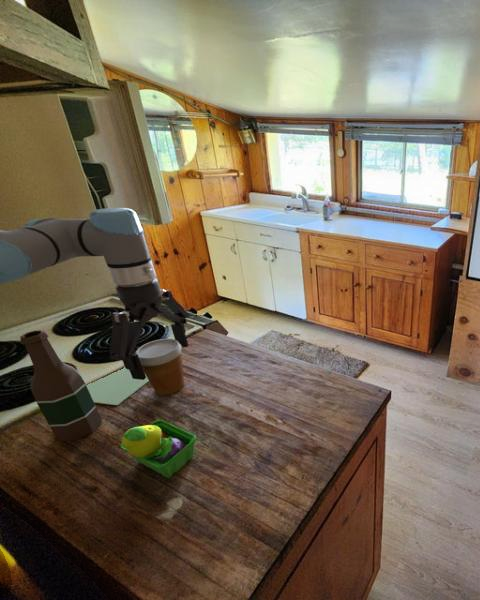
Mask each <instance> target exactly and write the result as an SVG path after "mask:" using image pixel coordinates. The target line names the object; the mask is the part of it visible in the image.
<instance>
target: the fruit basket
mask: <svg viewBox="0 0 480 600" xmlns="http://www.w3.org/2000/svg"><path fill="white" fill-rule="evenodd" d="M196 439H197V436H196V434H192V433H191V432H189V431H186V430H184V429H182V428H180V427H178V426H176V425H174V424H171V423H170V422H168V421H165V420H163V419H157V420H155V421H153V422H152V423H150V424H147V425H146V424H145V425H141V426H140V425H139V426H134V427H132V428H129V429H128V430H126V432H125V433H123V435H122V438H121V445H120V448H121V449H123V450H124V451H125V452H127V453H128V454H129V455H130V456H131V457H132V458H133V459H134V460H135V461H137V462H138V463H139V464H141V465H142V464H143V465H144V466H145V467H147V468H148V469H152V470H153V471H155V472H156V473H158V474H161V475H162V476H163V477H166V478H167V479H169V478H171V477H172V476H173V475H174V474H175V473H176V472H178V471H179V470H180V469H182V468H183V466H185V465H186V464H187V463H188V462H189V461H191V460H192V459H193V458H194V450H195V443H196V441H197V440H196Z"/></svg>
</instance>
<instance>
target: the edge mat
mask: <svg viewBox="0 0 480 600" xmlns="http://www.w3.org/2000/svg"><path fill="white" fill-rule="evenodd" d="M145 376H146V374H145ZM148 383H150V381H149V380H148V378H147V376H146V378H145V379H144V380H140V379H133V378H132V375H131V373H130V370H127V369H126V368H125V367H124V368H123V369H121V370H118V371H117V372H114V373H112V374H110V375H108V376H106V377H104V378H101V379H99V380H97V381H95V382H93V383H90V384H88V383H87V384H88V385H86V386H87V388H88V391H89V393H90V395H91V397H92V399H93V401H94V404H100V405H101V404H102V405H110V406H115V407H116V406H117V407H118V406H119V405H120V404H122V403H123V402H124V401H125V400H127V399H128V398H130V397H131V396H132V395H133V394H135V393H136V392H138V391H139V390H140V389H141V388H143V387H144V386H145V385H146V384H148Z"/></svg>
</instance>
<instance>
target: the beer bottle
mask: <svg viewBox="0 0 480 600" xmlns="http://www.w3.org/2000/svg"><path fill="white" fill-rule="evenodd" d="M48 338H49V334H48V333H47V332H46V331H45V330H41V329H40V330H33V331H29V332H25V333H24V334H22V335H21V336H19V341H20V344H21V345H24V346H25V349H26V351H27V354H28V357H29V358H30V361H31V363H32V366H33V370H34V373H33V374H32V377H31V379H30V390H31V393H32V395H33V398H34V400H35V403H36V404H37V406H38V408H39V410H40V411H41V414H42V415H43V418H44V419H45V420H46V422H47V425H48V426H49V428H50V429H51V430H50V431H52V433H53V435H54V436H55V438H56V439H57V441H58V442H72V441H73V442H74V441H75V442H76V441H77V440H80V439H81V438H83V437H86V436H89V435H90V434H93V433H94V432H95V431H96V429H97V428H99V426H100V425H101V424H102V423H103V420H102V418H101V415H100V413H99V410H98V407H97V406H96V403H94V401H93V399H92V397H91V395H90V393H89V391H88V388H87V386H86V384H87V383H86V382H85V381H84V379H83V377H82V375H81V373H80V372H79V370H77V369H76V367H74V366H73V365H70V364H68V363H65V362H63V361H62V359H61V358H60V357H59V356H58V354H57V352H56V350H55V349H54V347H53V346H52V344H51V342H50V340H49V339H48Z"/></svg>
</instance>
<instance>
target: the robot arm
mask: <svg viewBox="0 0 480 600" xmlns="http://www.w3.org/2000/svg"><path fill="white" fill-rule="evenodd" d="M88 217H89V218H88V219H86V218H84V219H83V218H82V219H81V218H79V219H78V218H55V217H47V218H37V219H36V218H35V219H31V220H29V221H27V222H26V223H25V225H23V226H22V227H19V228H16V229H11V230H3V229H2V230H1V229H0V286H2V285H4V284H7V283H13V282H16V281H19V280H22V279H23V278H26V277H27V276H29V275H32V274H35V273H37V272H39V271H43V270H44V269H47V268H51V267H53V266H56V265H58V264H61V263H63V262H66V261H69V260H71V259H74V258H79V257H103V258H104V261H105V263H106V266H107V269H108V272H109V275H110V277H111V280H112V284H114V285H115V291H116V294H117V296H118V299H119V301H120V302H121V303H122V304H123V306H124V310H123V311H121V312H112V313H111V315H110V318H111V321H112V328H111V337H110V349H109V359H110V360H118V361H122V363H123V365H124V366H125V368H126V369H127V370H130V373H131V375H132V378H133V379H140V380H144V379H145V378H146V376H145V373H144V370H143V368H142V365H141V362H140V359H139V357H138V354H136V353H135V352H136V348H137V345H138V342H139V338H140V335H141V333H142V329H143V328H145V326H146V323H148V322H150V321H151V320H152V319H155V318H157V317H158V316H160V317H162V318H164V319H166V320H167V321H169V322H171V323H172V324H170V328H171V330H172V334H173V337H174V338H173V339H174V340H177V341H178V343H179V344H181V345H182V348H188V347H189V343H188V339H187V336H186V335H187V334H186V332H187V330H186V327H185V325H186V324H187V323H188V318H189V316H190V315H189V313H188V311H187V310H185V309H184V307H183V306H182V305H181V304H180V303H179V302H178V301H177V300H176V299H175V297H174V295H173V293H172V291H171V290H165V289H161V287H160V283H159V280H158V279H157V278H156V277H157V274H156V271H155V268H154V263H153V261H152V259H151V255H150V252H149V248H148V244H147V242H146V238H145V234H144V228H143V227H142V225H141V222H140V219H139V217H138V215H137V213H136V211H135V210H133V209H131V208H128V207H111V208H110V207H107V208H98V209H94V210H91V211H90V212H89V213H88ZM162 303H163V304H164V305H165V306H166V307H167V308H166V307H165V306H163V305H162ZM135 321H136V322H135Z"/></svg>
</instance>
